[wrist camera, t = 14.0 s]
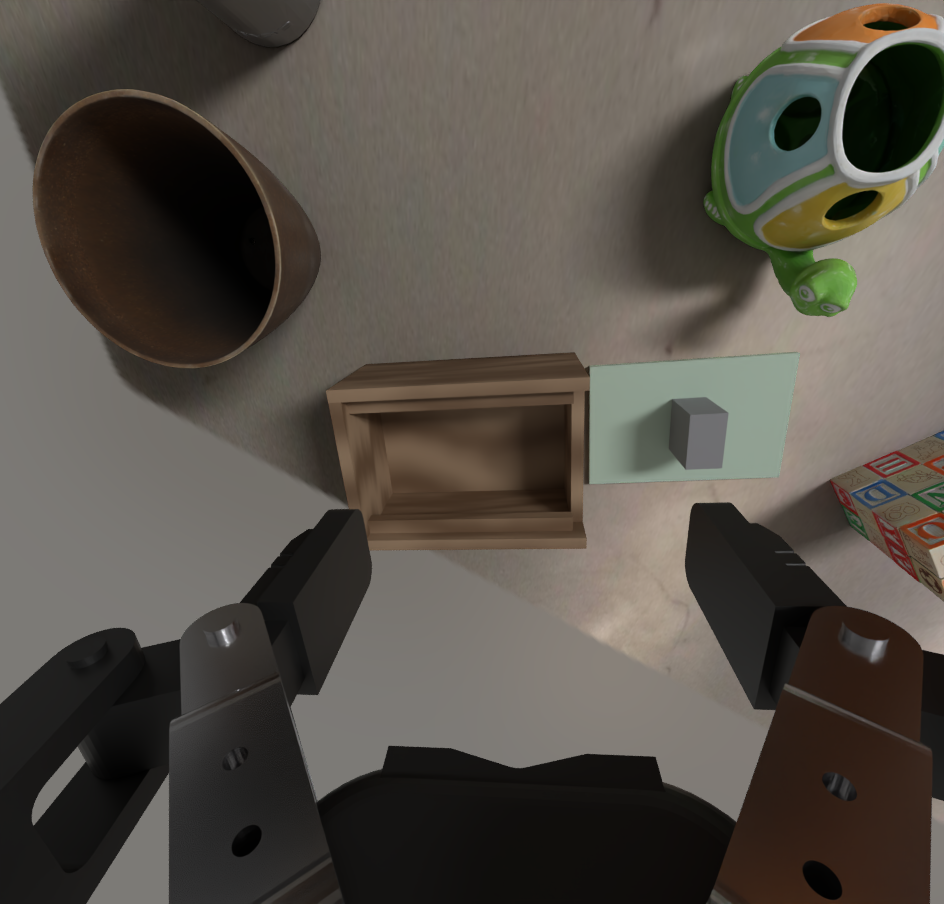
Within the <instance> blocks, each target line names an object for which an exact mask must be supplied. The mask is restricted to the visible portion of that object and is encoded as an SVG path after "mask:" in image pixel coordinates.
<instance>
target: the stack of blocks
mask: <svg viewBox="0 0 944 904" xmlns="http://www.w3.org/2000/svg"><path fill="white" fill-rule="evenodd" d="M830 481H831V484H832V486H833V488H834V490H835V493H836V495H837V497H838V499H839V502H840V503H841V505H842V507H843V510H844V512H845V514H846V517H847V519H848V521H849V524H850V526H851V527H852V528H854V529H855V530H856V531H857V532H858V533H860V534H861V535H862V536H864V537H865V538H866V539H867V540H869V541H870V542H872V543H873V544H874V545H875V546H876V547H877V548H879V549H880V550H881V551H882V552H883V553H885V554H886V555H887V556H888V557H889V558H891V559H892V560H894V562H895V563H896V564H897V565H899V566H900V567H901V568H902V569H903V570H905V571H906V572H907V573H908V574H909V575H911V576H912V577H913V578H914V579H916V580H917V581H918V582H920V583H922V584H923V585H924V586H925V587H927V588H928V589H929V590H930V591H932V592H933V593H934V594H935V595H936V596H938V597H939V598H940V599H941V600H942V601H944V431H942V432H939V433H937V434H935V435H934V436H931V437H928V438H926V439H924V440H922V441H919V442H917V443H915V444H912V445H910V446H908V447H906V448H903V449H901V450H899V451H895V452H893V453H890V454H888V455H886V456H883V457H881V458H879V459H876V460H874V461H872V462H869V463H867V464H865V465H863V466H860V467H857V468H855V469H853V470H850V471H848V472H846V473H844V474H841V475H839V476H837V477H834V478H832V479H831V480H830Z"/></svg>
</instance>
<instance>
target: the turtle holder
mask: <svg viewBox="0 0 944 904" xmlns="http://www.w3.org/2000/svg"><path fill="white" fill-rule="evenodd" d="M943 147H944V19H943V18H942V17H941V16H938V15H935V14H928V15H927V14H925V13H923V12H921V11H919V10H917V9H914V8H912V7H908V6H903V5H899V4H889V3H884V4H873V5H866V6H861V7H857V8H853V9H849V10H846V11H843V12H841V13H839V14H836V15H834V16H830V17H827V18H824V19H821V20H818V21H816V22H814V23H812V24H810V25H808V26H806V27H804V28H802V29H800V30H799V31H797V32H796V33H794V34H793V35H792V36H790V37H789V38H788V39H787V40H786V41H785V42H784V43H783V45H782V47H780V48H778V49H777V50H775V51H774V52H773V53H771V54H770V55H769V56H767V57H766V58H765V59H764V60H763V61H762V62H761V63H760V64H759V65H758V66H757V67H756V68H755V69H754V70H753V71H752V72H751V73H750V75H749V76H742V77H740V78H739V79H738V80H737V82H736V84H735V86H734V88H733V91H732V95H731V102H730V104H729V106H728V108H727V110H726V112H725V114H724V116H723V118H722V120H721V123H720V125H719V128H718V131H717V134H716V138H715V143H714V148H713V154H712V164H711V181H712V190H713V191H710V192H709V193H707V195H706V196H705V198H704V201H703V204H704V208H705V211H706V213H707V214H708V216H709V217H710V218H711V219H712V220H714V221H715V222H717V223H718V224H720V225H724V226H726V228H727V229H728V230H729V232H730V233H731V234H732V235H734V236H735V237H736V238H738V239H739V240H741V241H742V242H744V243H746V244H748V245H749V246H751V247H754V248H756V249H760V250H763V251H765V252H767V253H768V255H769V257H770V259H771V263H772V266H773V270H774V273H775V276H776V278H777V279H778V281H779V284H780V285H781V287H782V289H783V290H784V292H785V293H786V294H787V295H788V296H790V298H791V300H792V302H793V304H794V306H795V308H796V309H797V310H798V311H799V312H800V313H802V314H805V315H810V316H821V315H822V316H827V317H831V316H834V315H836V314H838V313H839V312H841V311H844V310H846V309H847V308H848V306H849V303H850V300H851V297H852V295H853V293H854V291H855V289H856V286H857V278H856V274H855V270H854V269H853V267H852V266H851V265H850V264H848V263H847V262H845V261H843V260H840V259H824V260H820V261H818V262H815V261H814V258H813V250H814V249H817V248H820V247H824V246H827V245H830V244H833V243H836V242H838V241H841V240H843V239H845V238H847V237H849V236H851V235H853V234H855V233H857V232H859V231H861V230H863V229H865V228H867V227H868V226H870V225H872V224H873V223H875V222H876V221H878V220H880V219H882V218H883V217H885V216H887V215H889V214H890V213H892V212H893V211H895V210H896V209H898V208H899V207H900V206H902V205H903V204H904V203H905V202H906V201H908V200H909V198H910V197H911V196H912V195H913V194H914V192H915V191H916V189H917V188H918V187H919V186H920V185H921V184H923V183H924V182H925V181H926V180H927V179H928V177H929V176H930V175H931V174H932V172H933V171H934V169H935V167H936V165H937V160H938V156H939V154H940V152H941V151H942V149H943Z"/></svg>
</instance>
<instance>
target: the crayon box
mask: <svg viewBox="0 0 944 904" xmlns="http://www.w3.org/2000/svg"><path fill="white" fill-rule="evenodd" d="M585 391H590V377H589V375H588V373H587V372H586V370H585V369H584V367H583V365H582V364H581V362H580V361H579V359H578V357H577V356H576V354H575V353H574V352H573V353H556V354H538V355H521V356H503V357H486V358H468V359H451V360H433V361H416V362H398V363H380V364H366V365H364V366H363V367H361V368H360V369H358V370H357V371H355V372H354V373H352V374H351V375H349V376H348V377H346V378H344V379H343V380H341V381H340V382H338V383H337V384H335V385H334V386H332V387H331V388H329V389H328V390H326V394H327V399H328V404H329V409H330V414H331V419H332V425H333V430H334V435H335V440H336V445H337V450H338V455H339V460H340V466H341V471H342V476H343V481H344V486H345V491H346V496H347V501H348V507H349V509H359V510H360V511H361V512H362V515H363V518H364V524H365V529H366V535H367V540H368V545H369V550H469V549H583V548H586V541H587V538H586V534H585V530H584V526H583V522H582V521H583V460H584V399H585Z"/></svg>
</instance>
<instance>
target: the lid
mask: <svg viewBox="0 0 944 904" xmlns="http://www.w3.org/2000/svg"><path fill="white" fill-rule="evenodd" d="M799 356H800V353H798V352H787V353H772V354H757V355H742V356H728V357H713V358H698V359H683V360H668V361H653V362H638V363H624V364H609V365H594V366H589V377H590V391H589V484H607V483H634V482H662V481H689V480H716V479H744V478H771V477H779V474H780V468H781V462H782V456H783V450H784V444H785V438H786V433H787V427H788V421H789V415H790V409H791V403H792V397H793V392H794V386H795V380H796V374H797V368H798V362H799Z"/></svg>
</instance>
